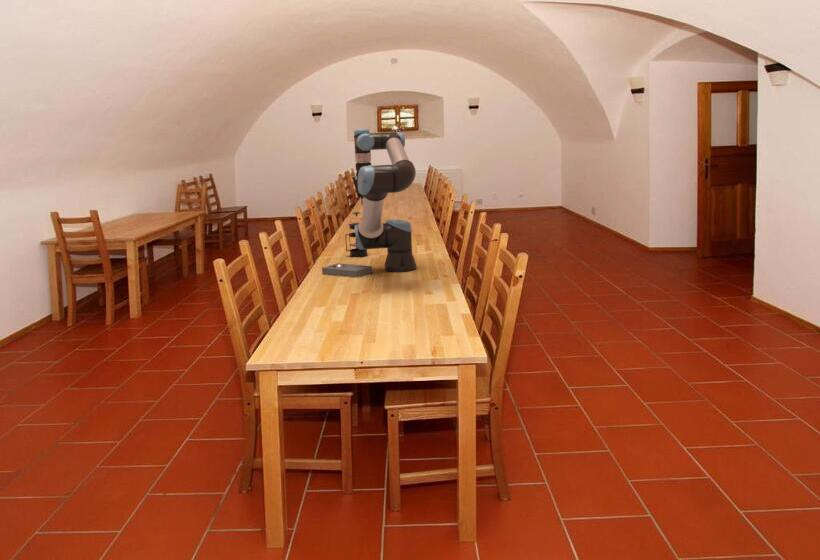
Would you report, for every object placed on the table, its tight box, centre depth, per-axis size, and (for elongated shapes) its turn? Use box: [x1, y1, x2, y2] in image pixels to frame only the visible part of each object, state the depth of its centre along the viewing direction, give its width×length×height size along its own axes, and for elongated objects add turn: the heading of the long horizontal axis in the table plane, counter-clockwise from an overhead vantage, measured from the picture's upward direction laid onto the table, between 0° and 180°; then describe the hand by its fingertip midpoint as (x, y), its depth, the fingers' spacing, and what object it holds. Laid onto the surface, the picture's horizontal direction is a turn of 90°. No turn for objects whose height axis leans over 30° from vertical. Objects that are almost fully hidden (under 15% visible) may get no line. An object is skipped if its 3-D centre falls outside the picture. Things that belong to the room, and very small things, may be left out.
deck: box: [321, 262, 373, 278], centre depth 341 cm, size 20×12×3 cm, turn 57°
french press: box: [344, 211, 369, 258], centre depth 382 cm, size 12×9×23 cm
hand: (365, 211), depth 353 cm, fingers closed
